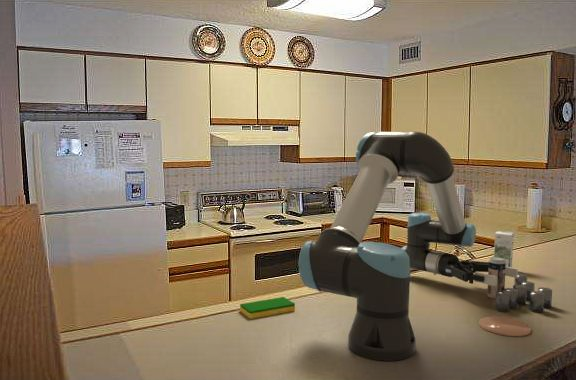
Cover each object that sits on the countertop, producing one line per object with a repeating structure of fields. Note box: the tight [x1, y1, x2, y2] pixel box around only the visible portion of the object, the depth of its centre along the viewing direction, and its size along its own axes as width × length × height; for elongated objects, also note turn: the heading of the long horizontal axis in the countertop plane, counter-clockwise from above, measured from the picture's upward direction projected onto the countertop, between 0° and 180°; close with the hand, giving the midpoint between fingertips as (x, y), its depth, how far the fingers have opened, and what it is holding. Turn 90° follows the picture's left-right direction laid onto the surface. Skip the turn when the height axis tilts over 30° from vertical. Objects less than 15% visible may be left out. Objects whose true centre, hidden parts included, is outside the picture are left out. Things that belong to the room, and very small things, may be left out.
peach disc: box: [479, 316, 532, 337], centre depth 124 cm, size 12×12×1 cm
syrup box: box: [493, 230, 515, 268], centre depth 179 cm, size 6×6×14 cm
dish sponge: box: [239, 296, 296, 319], centre depth 135 cm, size 7×14×2 cm, turn 119°
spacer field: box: [495, 273, 553, 314], centre depth 143 cm, size 15×26×5 cm, turn 131°
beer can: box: [486, 256, 506, 300], centre depth 147 cm, size 5×5×12 cm
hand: (507, 277), depth 145 cm, fingers open, 13 cm apart
